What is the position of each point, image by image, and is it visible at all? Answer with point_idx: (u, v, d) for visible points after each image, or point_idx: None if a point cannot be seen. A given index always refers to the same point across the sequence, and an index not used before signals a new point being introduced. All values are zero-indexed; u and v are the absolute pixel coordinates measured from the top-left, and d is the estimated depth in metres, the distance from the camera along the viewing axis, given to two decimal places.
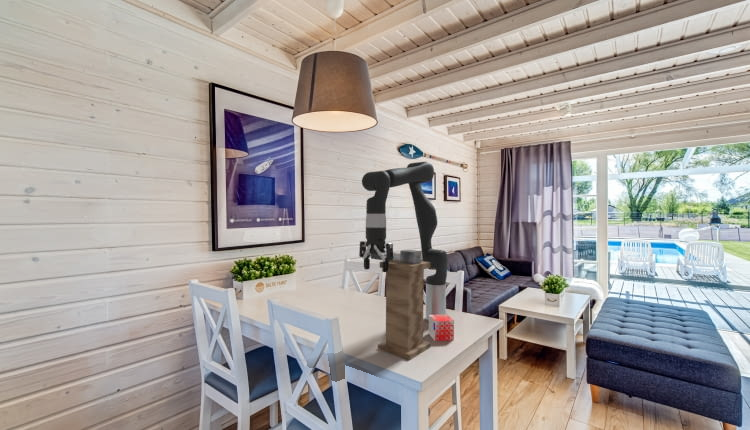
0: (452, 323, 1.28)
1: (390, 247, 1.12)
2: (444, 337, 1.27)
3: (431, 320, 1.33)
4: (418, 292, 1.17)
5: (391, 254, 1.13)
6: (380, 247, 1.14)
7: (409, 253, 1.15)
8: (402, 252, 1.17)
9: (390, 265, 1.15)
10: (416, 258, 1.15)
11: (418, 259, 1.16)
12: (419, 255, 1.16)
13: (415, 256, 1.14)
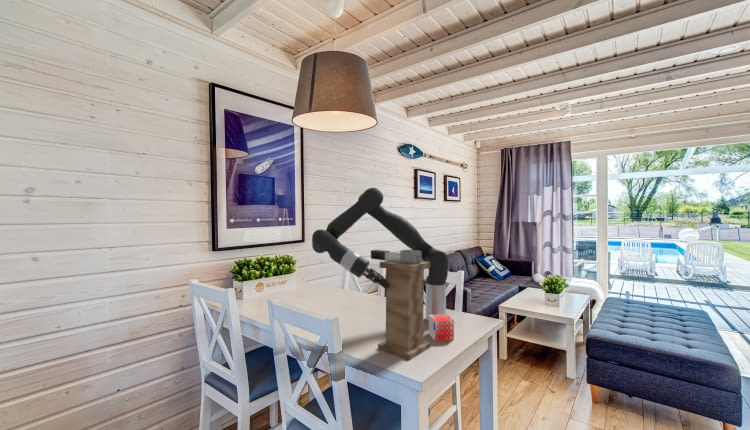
0: (452, 323, 1.28)
1: (366, 274, 1.16)
2: (444, 337, 1.27)
3: (431, 320, 1.33)
4: (418, 292, 1.17)
5: (374, 275, 1.16)
6: None
7: (409, 253, 1.15)
8: (402, 252, 1.17)
9: (390, 265, 1.15)
10: (416, 258, 1.15)
11: (418, 259, 1.16)
12: (419, 255, 1.16)
13: (415, 256, 1.14)
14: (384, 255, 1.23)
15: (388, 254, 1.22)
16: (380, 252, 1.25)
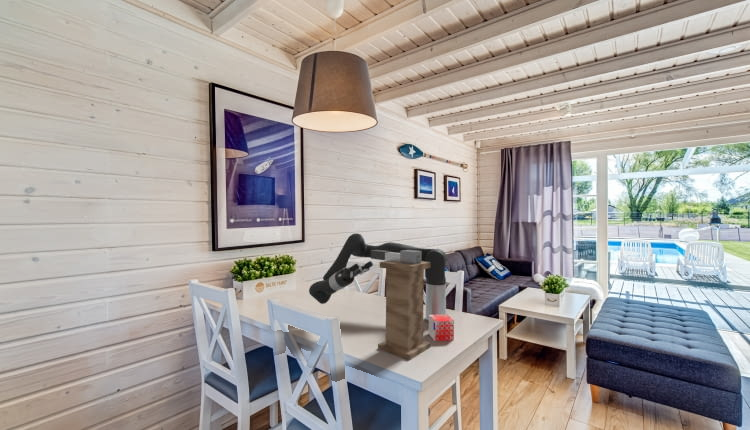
0: (452, 323, 1.28)
1: (340, 275, 1.32)
2: (444, 337, 1.27)
3: (431, 320, 1.33)
4: (418, 292, 1.17)
5: (343, 270, 1.31)
6: (347, 275, 1.34)
7: (409, 253, 1.15)
8: (402, 252, 1.17)
9: (390, 265, 1.15)
10: (416, 258, 1.15)
11: (418, 259, 1.16)
12: (419, 255, 1.16)
13: (415, 256, 1.14)
14: (384, 255, 1.23)
15: (388, 254, 1.22)
16: (380, 252, 1.25)
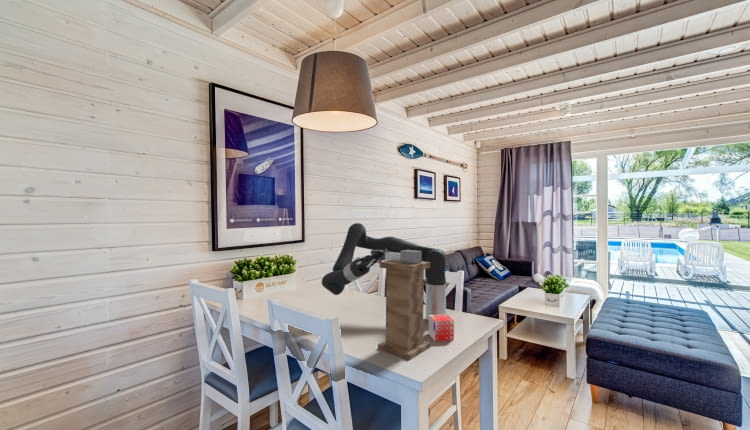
0: (452, 323, 1.28)
1: (360, 262, 1.25)
2: (444, 337, 1.27)
3: (431, 320, 1.33)
4: (418, 292, 1.17)
5: (365, 258, 1.25)
6: (365, 264, 1.28)
7: (409, 253, 1.15)
8: (402, 252, 1.17)
9: (390, 265, 1.15)
10: (416, 258, 1.15)
11: (418, 259, 1.16)
12: (419, 255, 1.16)
13: (415, 256, 1.14)
14: (384, 255, 1.23)
15: (388, 254, 1.22)
16: None
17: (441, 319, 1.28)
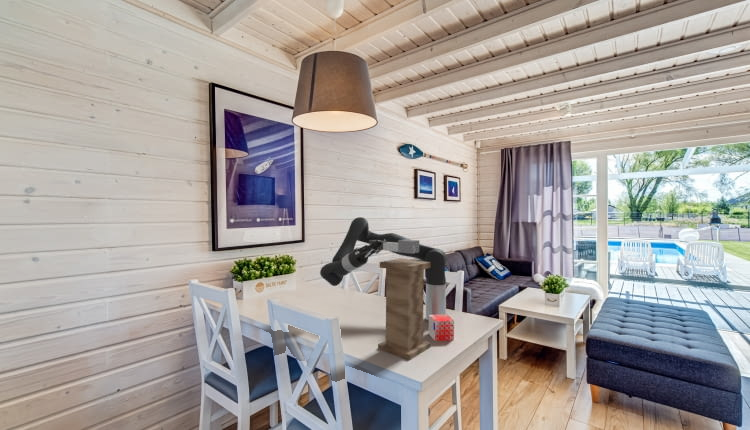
0: (452, 323, 1.28)
1: (358, 252, 1.26)
2: (444, 337, 1.27)
3: (431, 320, 1.33)
4: (418, 292, 1.17)
5: (363, 247, 1.26)
6: (363, 254, 1.29)
7: (407, 242, 1.15)
8: (400, 241, 1.17)
9: (390, 265, 1.15)
10: (413, 247, 1.15)
11: (416, 248, 1.17)
12: (417, 244, 1.17)
13: (413, 245, 1.15)
14: (382, 245, 1.24)
15: (386, 244, 1.23)
16: None
17: (441, 319, 1.28)
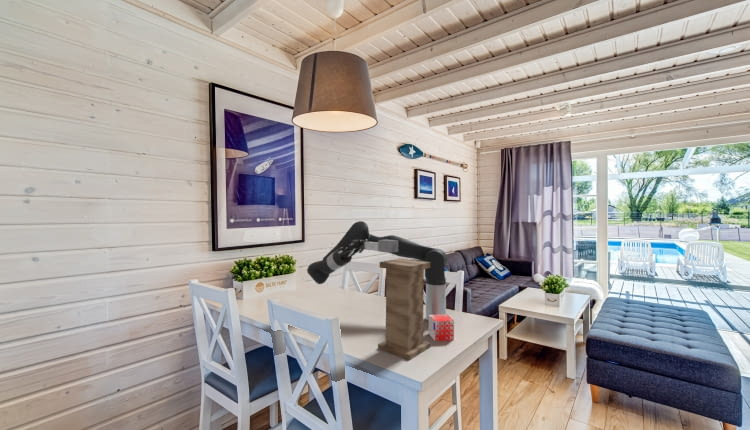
0: (452, 323, 1.28)
1: (341, 251, 1.32)
2: (444, 337, 1.27)
3: (431, 320, 1.33)
4: (418, 292, 1.17)
5: (346, 247, 1.32)
6: (346, 253, 1.35)
7: (386, 242, 1.22)
8: (380, 241, 1.24)
9: (390, 265, 1.15)
10: (392, 247, 1.21)
11: (395, 248, 1.23)
12: (396, 244, 1.23)
13: (391, 245, 1.21)
14: (364, 244, 1.30)
15: (367, 243, 1.29)
16: None
17: (441, 319, 1.28)
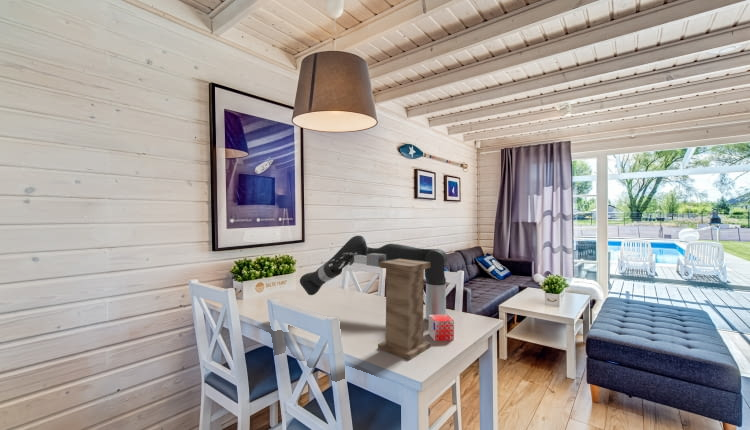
0: (452, 323, 1.28)
1: (331, 264, 1.36)
2: (444, 337, 1.27)
3: (431, 320, 1.33)
4: (418, 292, 1.17)
5: (336, 260, 1.36)
6: (337, 266, 1.39)
7: (374, 256, 1.25)
8: (368, 255, 1.27)
9: (390, 265, 1.15)
10: (380, 261, 1.25)
11: None
12: (383, 258, 1.27)
13: (379, 259, 1.25)
14: (353, 258, 1.34)
15: (356, 257, 1.33)
16: None
17: (441, 319, 1.28)
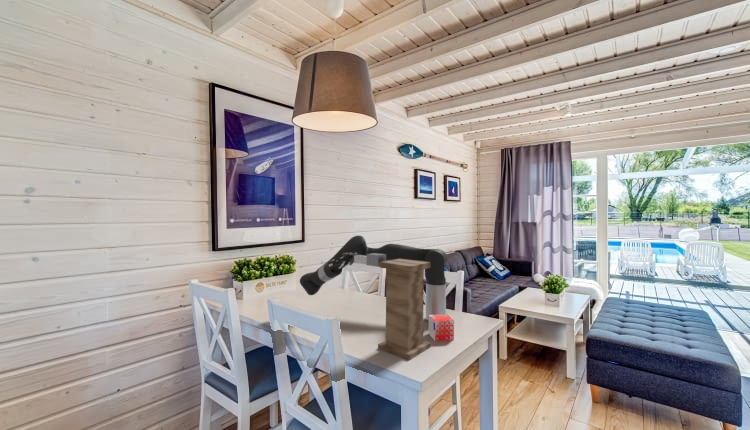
0: (452, 323, 1.28)
1: (331, 264, 1.36)
2: (444, 337, 1.27)
3: (431, 320, 1.33)
4: (418, 292, 1.17)
5: (336, 260, 1.36)
6: (337, 266, 1.39)
7: (374, 256, 1.25)
8: (368, 255, 1.27)
9: (390, 265, 1.15)
10: (380, 261, 1.25)
11: None
12: (383, 258, 1.27)
13: (379, 259, 1.25)
14: (353, 258, 1.34)
15: (356, 257, 1.33)
16: None
17: (441, 319, 1.28)
